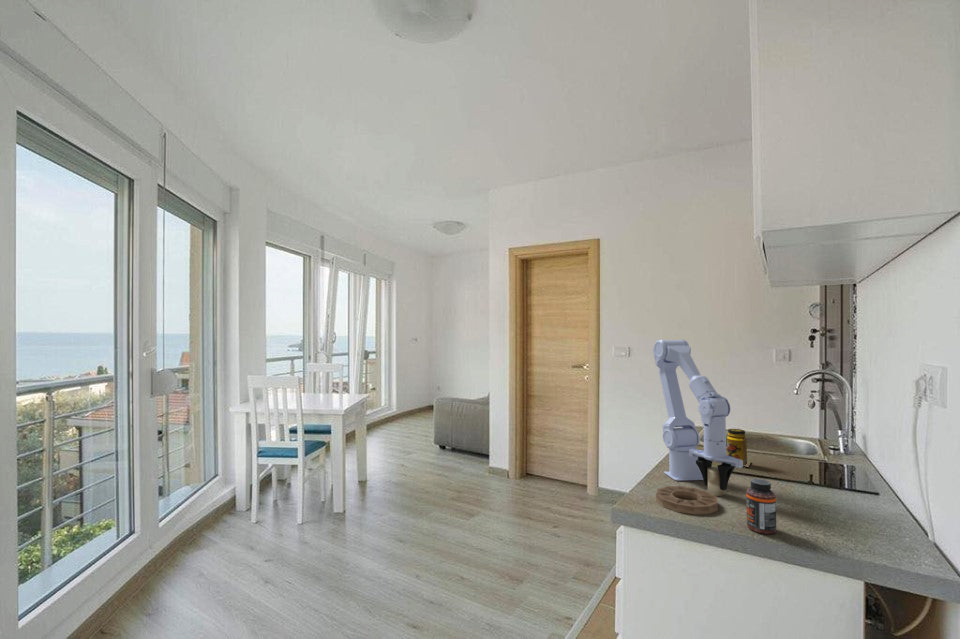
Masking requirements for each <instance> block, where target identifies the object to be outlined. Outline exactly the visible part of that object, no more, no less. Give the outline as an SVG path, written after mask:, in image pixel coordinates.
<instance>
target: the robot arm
mask: <svg viewBox="0 0 960 639" xmlns="http://www.w3.org/2000/svg"><path fill="white" fill-rule="evenodd" d="M652 352H653V357H654V361H655V366H657V369H658V374H659V379H660V383H661V387H662V388H661V389H662V394H663V397H664V402H665V408H666V412H667V416H668V419H667V420H666V421H665V422H664V423H663V424H662V440H663V441H662V442H663V443H664V445H665V446H666V448H667V449H668V460H669V461H668V462H669V464H668V466H669V469H668V470H669V471H665V470H664V471H663V473H664V474H665V475H666V476H668V477H669V478H671V479H673V480H674V481H677V482H678V481H681V482H682V481H684V482H685V481H703V483H704V486H707V487H708V476H707V468H708V467H713V466H712V465H713V462H714V463H719V464H718V465H717V467H716V468H718V471H719V476H720V489H721V490H723V491H725V490H727V488H728V483H729V480H730V478H731V476H732V473H733V471H734V470H735V468H737V469H741V468H744V467H743V460H740V459H737V458H734V457H731V456H728V455H727V428H726V427H727V426H726V424H727V422H726V420H727V419H726V417H728V416H729V415H730V413H731V405H730V402H729V400H728V398H726V397H725V396H723V395H721V394H719V393H718V392H717V391H716V389H715V388H714V386H713V385H712V383H711V381H710V379H709V378H708V377H707V376H705V375H702V374H701V373H700V371H699V369H698V367H697V365H696V364H695V361H694V359H693V358H692V356H691V353H692V348H691V346H690V345H689V342H688V341H687V340H686V339H683V338H681V339H658V340H656V341H655V343H654V346H653V348H652ZM678 367H679V368H680V369H681V370H682V372H683V373H684V374H685V375H686V377H687V378H688V380H689V384H688V387H689V389H690V390H691V392H692V393H693V395H694V397H695V399H696V400H697V402H698V403H699V404H698V406H697V408H698V412H699V415H700V417H701V418H700V420H701V423H702V424H703V431H702V432H703V449H701V450H700V449H698V448H697V447H698V446H699V444H700V443H701V442H700V441H701V437H700V433H699V431H698V429H697V428H696V424H695V422H694V421H693V420H691V419H690V418H688V416H687V413H686V410H685V405H684V402H683V396H682V392H681V388H680V384H679V377H678V375H677V372H676V370H677V368H678Z"/></svg>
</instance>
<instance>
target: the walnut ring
mask: <svg viewBox="0 0 960 639" xmlns="http://www.w3.org/2000/svg"><path fill="white" fill-rule="evenodd" d="M655 501H656V502H657V503H658V504H659V505H660V506H661V507H662V508H665V509H668V510H670V511H673V512H676V513H682V514H687V515H688V514H689V515H710V514H713V513H715V512H717V511H719V510H718V509H719V505H718V504H719V503H718V502H719V501H718V496H714V495H712V494H711V493H709V492H708V491H707V490H702V489H700V488H699V489H698V488H696V487H691V486H690V487H689V486H684V485H683V486H682V485H668V486H663V487H659V488H657V489H656V492H655Z"/></svg>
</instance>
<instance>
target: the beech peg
mask: <svg viewBox="0 0 960 639" xmlns="http://www.w3.org/2000/svg"><path fill="white" fill-rule="evenodd" d="M707 476H708V485H707V492H709V493H711V494H712V495H714V496H715V497H723V496H724V490H721V489H720V476H719V471H718V467H713V466H712V467H708V468H707Z"/></svg>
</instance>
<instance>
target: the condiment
mask: <svg viewBox="0 0 960 639" xmlns="http://www.w3.org/2000/svg"><path fill="white" fill-rule="evenodd" d="M747 445H748V441H747V438H746V431H745V430H744V429H740V428H728V430H727V436H726V455H728V456H731V457H734V458H737V459H740V460H743V465H746V464H747V462H748V446H747Z"/></svg>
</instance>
